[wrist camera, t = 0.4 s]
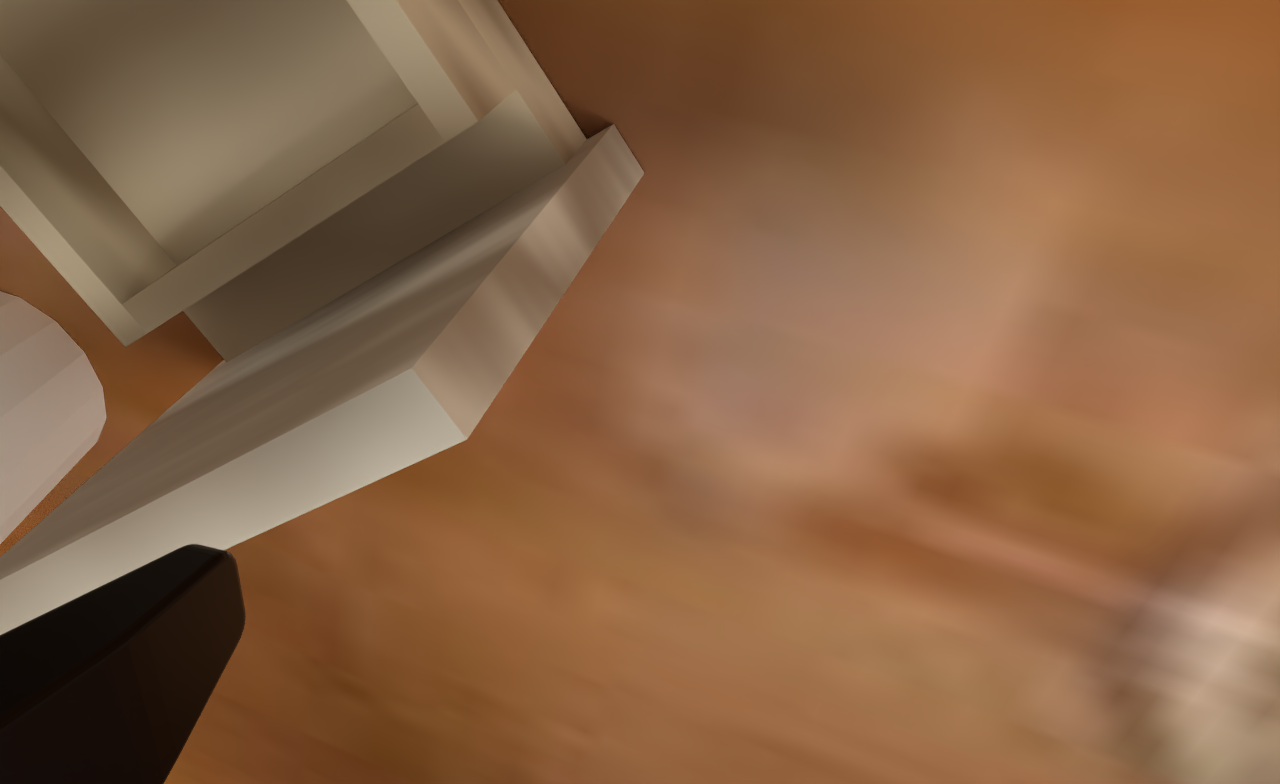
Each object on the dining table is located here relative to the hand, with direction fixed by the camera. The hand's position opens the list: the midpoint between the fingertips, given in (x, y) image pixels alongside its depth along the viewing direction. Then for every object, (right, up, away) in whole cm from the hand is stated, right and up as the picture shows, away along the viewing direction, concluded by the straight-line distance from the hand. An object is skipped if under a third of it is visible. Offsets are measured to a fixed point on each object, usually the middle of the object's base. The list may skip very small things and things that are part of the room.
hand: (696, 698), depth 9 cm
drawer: (-9, +10, +13) cm, 19 cm away
